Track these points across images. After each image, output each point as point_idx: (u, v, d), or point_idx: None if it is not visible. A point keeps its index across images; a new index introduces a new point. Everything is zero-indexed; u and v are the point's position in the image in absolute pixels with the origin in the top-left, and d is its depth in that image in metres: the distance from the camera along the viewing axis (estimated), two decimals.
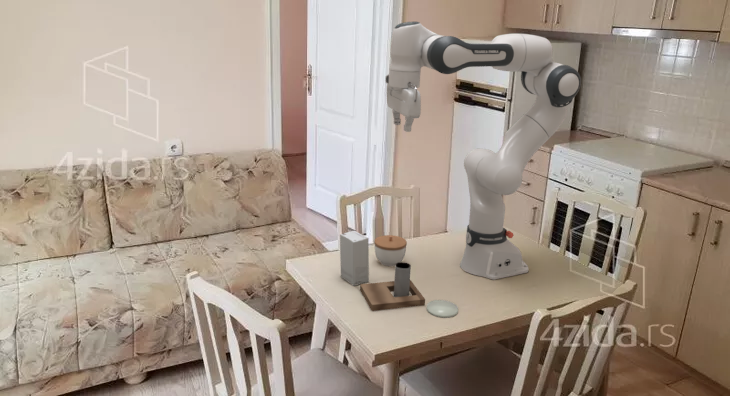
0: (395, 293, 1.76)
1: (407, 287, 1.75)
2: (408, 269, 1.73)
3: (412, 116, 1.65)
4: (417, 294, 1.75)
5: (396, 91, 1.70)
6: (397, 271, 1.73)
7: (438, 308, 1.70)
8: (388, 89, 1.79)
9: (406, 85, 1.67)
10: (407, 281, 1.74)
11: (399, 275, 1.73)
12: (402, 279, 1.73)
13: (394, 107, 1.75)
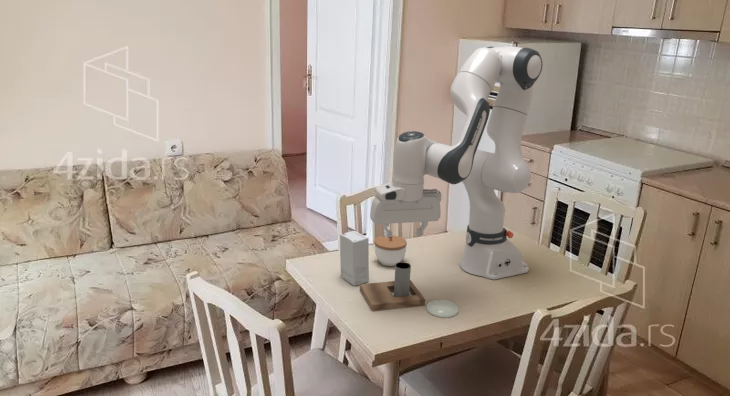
0: (395, 293, 1.76)
1: (407, 287, 1.75)
2: (408, 269, 1.73)
3: None
4: (417, 294, 1.75)
5: (414, 202, 1.65)
6: (397, 271, 1.73)
7: (438, 308, 1.70)
8: (382, 206, 1.64)
9: None
10: (407, 281, 1.74)
11: (399, 275, 1.73)
12: (402, 279, 1.73)
13: (399, 220, 1.67)
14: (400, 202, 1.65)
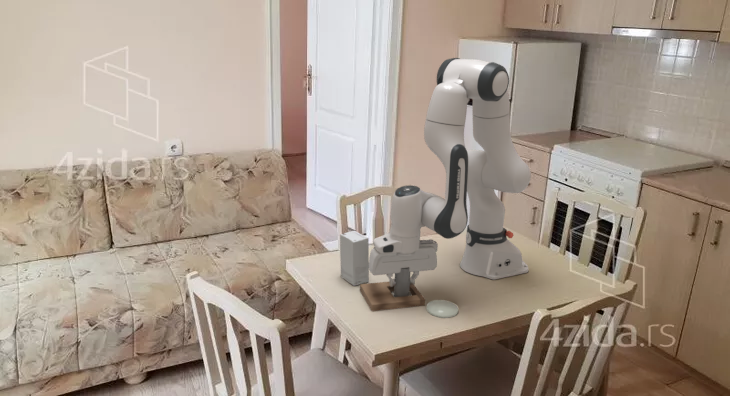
0: (395, 293, 1.76)
1: (407, 287, 1.75)
2: (408, 269, 1.73)
3: None
4: (417, 294, 1.75)
5: (411, 254, 1.70)
6: None
7: (438, 308, 1.70)
8: (379, 258, 1.69)
9: None
10: (407, 281, 1.74)
11: (399, 275, 1.73)
12: (402, 279, 1.73)
13: (396, 270, 1.72)
14: (397, 254, 1.70)
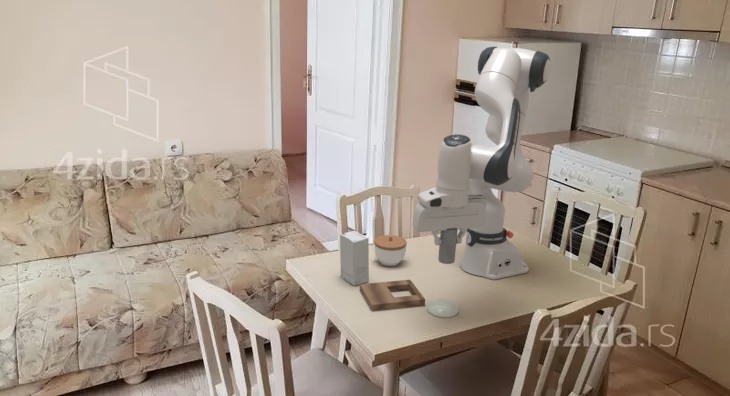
0: (440, 256, 1.64)
1: (453, 250, 1.63)
2: (455, 230, 1.61)
3: None
4: (417, 294, 1.75)
5: (460, 209, 1.58)
6: (443, 232, 1.61)
7: (438, 308, 1.70)
8: (426, 213, 1.57)
9: None
10: (454, 243, 1.62)
11: (445, 237, 1.61)
12: (449, 241, 1.61)
13: (443, 227, 1.60)
14: (445, 209, 1.58)
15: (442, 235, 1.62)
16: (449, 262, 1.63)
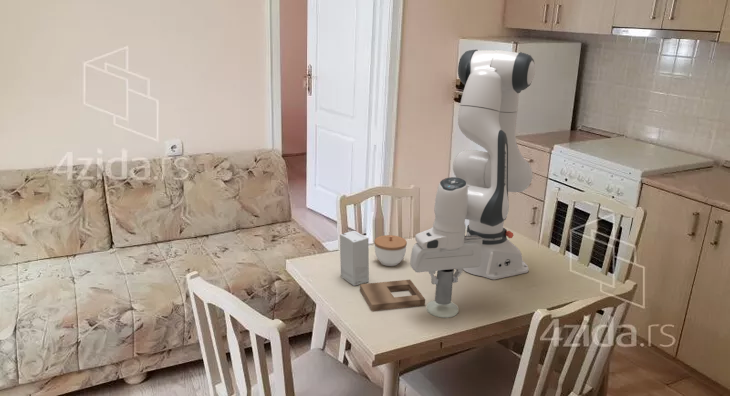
0: (437, 297, 1.68)
1: (450, 291, 1.67)
2: (451, 272, 1.65)
3: None
4: (417, 294, 1.75)
5: (456, 250, 1.62)
6: (440, 274, 1.65)
7: (438, 308, 1.70)
8: (423, 254, 1.60)
9: None
10: (450, 285, 1.66)
11: (442, 279, 1.65)
12: (445, 283, 1.65)
13: (440, 267, 1.64)
14: (441, 250, 1.62)
15: (438, 277, 1.66)
16: (445, 303, 1.67)
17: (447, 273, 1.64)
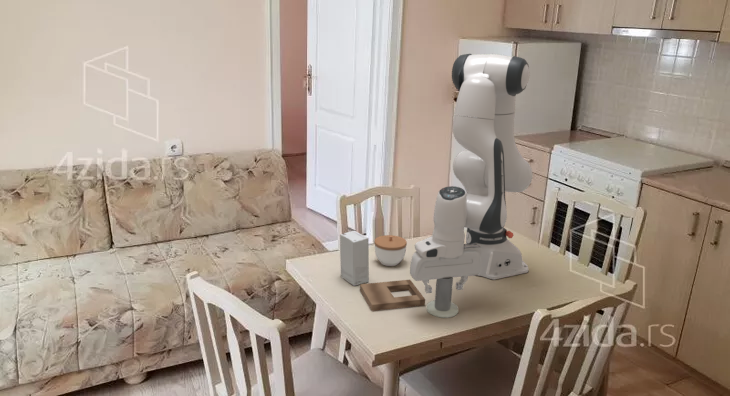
0: (436, 304, 1.68)
1: (449, 298, 1.67)
2: (451, 279, 1.66)
3: None
4: (417, 294, 1.75)
5: (455, 258, 1.63)
6: (439, 281, 1.66)
7: None
8: (422, 263, 1.61)
9: None
10: (449, 291, 1.67)
11: (441, 285, 1.66)
12: (444, 289, 1.66)
13: (439, 276, 1.64)
14: (441, 258, 1.63)
15: (438, 283, 1.66)
16: (445, 309, 1.68)
17: (446, 280, 1.65)
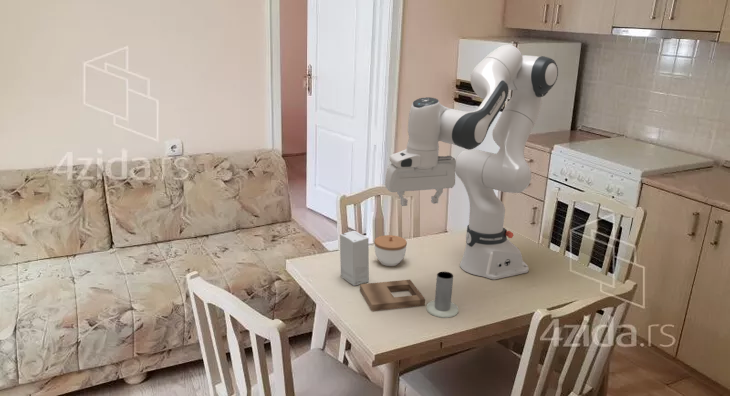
0: (436, 304, 1.68)
1: (449, 298, 1.67)
2: (451, 279, 1.66)
3: None
4: (417, 294, 1.75)
5: (430, 169, 1.64)
6: (439, 281, 1.66)
7: None
8: (397, 173, 1.63)
9: None
10: (449, 291, 1.67)
11: (441, 285, 1.66)
12: (444, 289, 1.66)
13: (414, 187, 1.66)
14: (415, 169, 1.64)
15: (438, 283, 1.66)
16: (445, 309, 1.68)
17: (446, 280, 1.65)
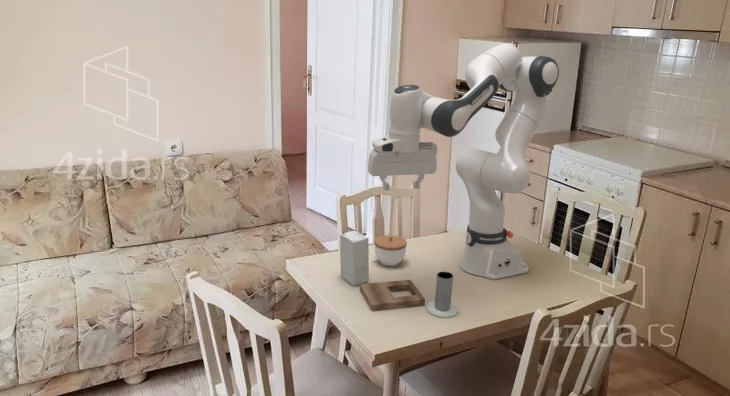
0: (436, 304, 1.68)
1: (449, 298, 1.67)
2: (451, 279, 1.66)
3: None
4: (417, 294, 1.75)
5: (411, 154, 1.69)
6: (439, 281, 1.66)
7: None
8: (379, 158, 1.68)
9: None
10: (449, 291, 1.67)
11: (441, 285, 1.66)
12: (444, 289, 1.66)
13: (396, 172, 1.71)
14: (397, 154, 1.69)
15: (438, 283, 1.66)
16: (445, 309, 1.68)
17: (446, 280, 1.65)
